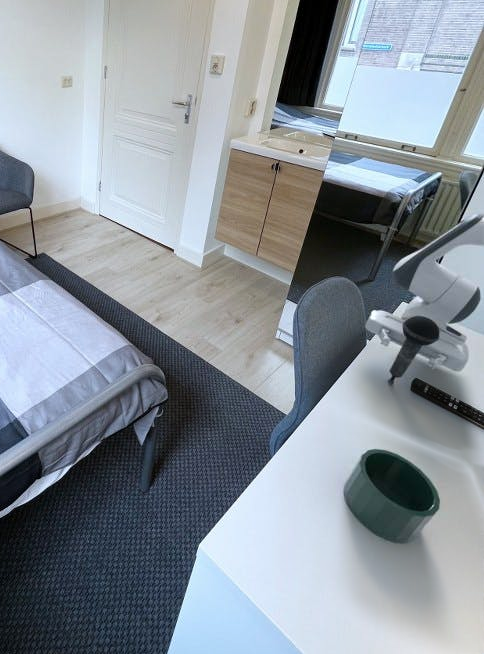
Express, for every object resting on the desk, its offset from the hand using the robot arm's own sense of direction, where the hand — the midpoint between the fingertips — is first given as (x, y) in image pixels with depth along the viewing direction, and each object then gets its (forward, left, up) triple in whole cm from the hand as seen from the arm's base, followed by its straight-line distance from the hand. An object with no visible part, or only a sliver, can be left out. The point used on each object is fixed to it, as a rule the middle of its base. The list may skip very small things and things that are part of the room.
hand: (407, 353), depth 98 cm
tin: (+8, +36, -10) cm, 38 cm away
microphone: (0, 0, -10) cm, 10 cm away
